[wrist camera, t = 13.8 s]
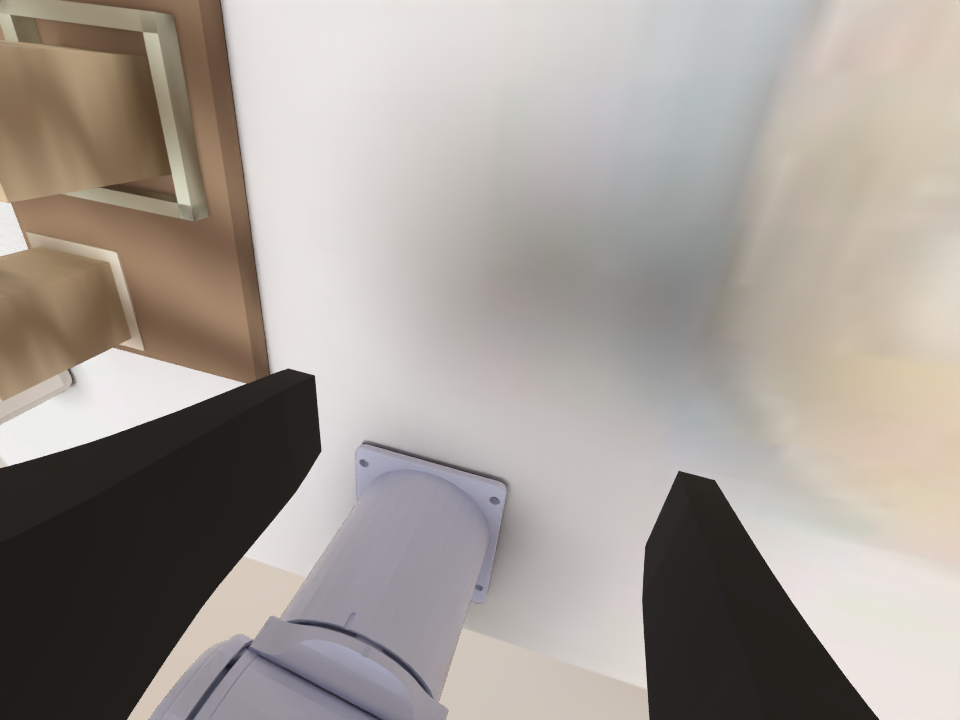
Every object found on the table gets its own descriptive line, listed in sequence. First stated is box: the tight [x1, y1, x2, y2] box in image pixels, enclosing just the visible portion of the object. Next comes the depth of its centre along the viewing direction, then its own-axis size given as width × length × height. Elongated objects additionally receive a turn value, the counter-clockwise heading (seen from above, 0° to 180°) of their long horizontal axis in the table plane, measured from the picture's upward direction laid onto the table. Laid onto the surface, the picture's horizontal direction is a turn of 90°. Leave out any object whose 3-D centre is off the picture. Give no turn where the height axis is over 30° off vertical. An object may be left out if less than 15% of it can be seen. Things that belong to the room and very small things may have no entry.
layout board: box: [0, 0, 270, 401], centre depth 18 cm, size 16×12×7 cm
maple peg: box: [0, 40, 172, 203], centre depth 16 cm, size 4×4×6 cm
